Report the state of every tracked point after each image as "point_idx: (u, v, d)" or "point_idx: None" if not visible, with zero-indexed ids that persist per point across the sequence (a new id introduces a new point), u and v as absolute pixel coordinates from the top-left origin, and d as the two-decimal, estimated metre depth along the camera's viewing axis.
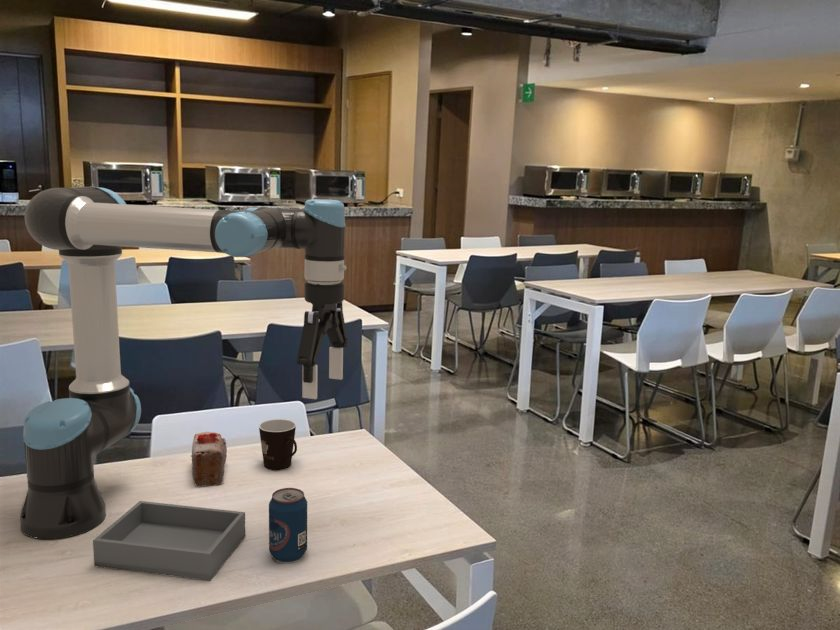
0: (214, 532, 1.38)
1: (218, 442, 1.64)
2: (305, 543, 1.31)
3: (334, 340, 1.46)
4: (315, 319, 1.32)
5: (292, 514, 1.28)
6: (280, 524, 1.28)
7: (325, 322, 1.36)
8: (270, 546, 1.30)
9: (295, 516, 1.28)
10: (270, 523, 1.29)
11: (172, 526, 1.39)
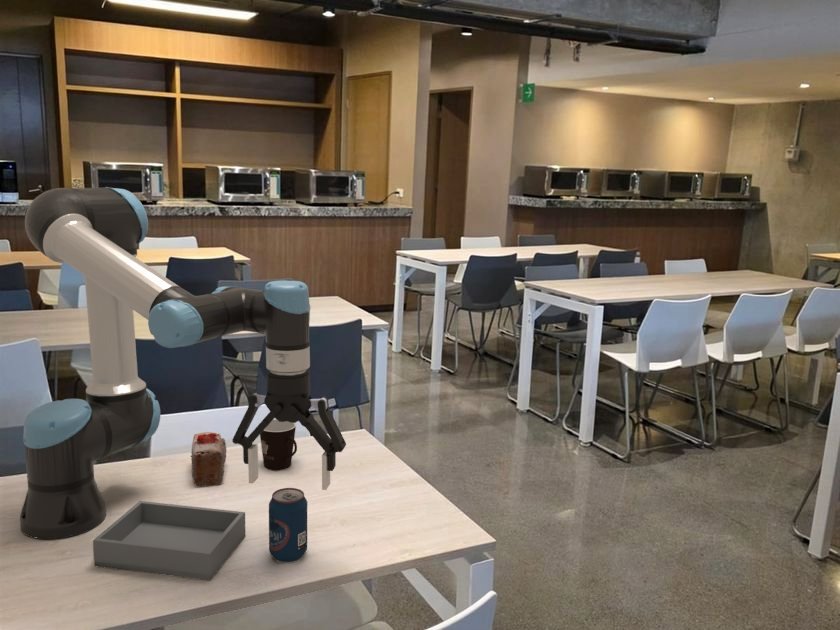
0: (214, 532, 1.38)
1: (218, 442, 1.64)
2: (305, 543, 1.31)
3: None
4: None
5: (292, 514, 1.28)
6: (280, 524, 1.28)
7: None
8: (270, 546, 1.30)
9: (295, 516, 1.28)
10: (270, 523, 1.29)
11: (172, 526, 1.39)
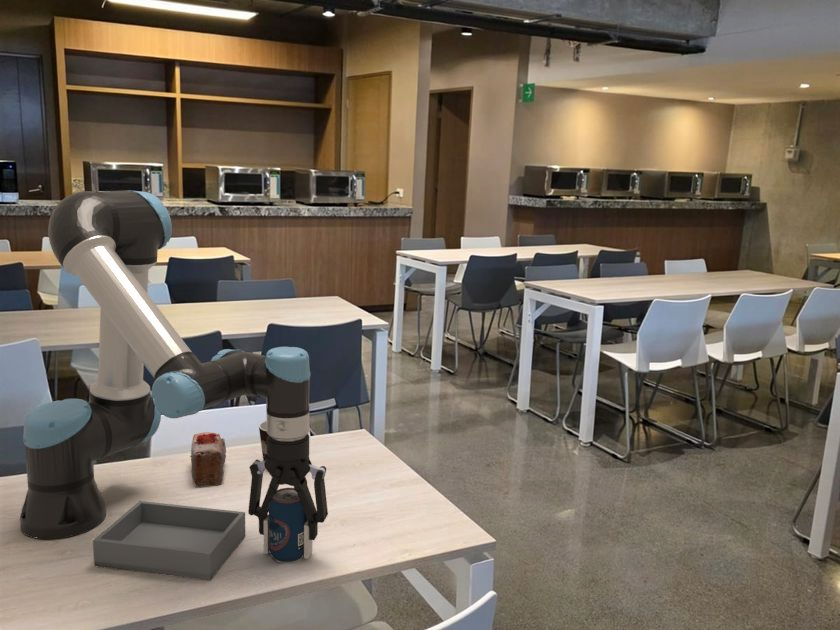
0: (214, 532, 1.38)
1: (217, 442, 1.64)
2: None
3: None
4: None
5: (292, 514, 1.28)
6: (280, 524, 1.28)
7: None
8: (270, 546, 1.30)
9: (295, 516, 1.28)
10: (270, 523, 1.29)
11: (172, 526, 1.39)
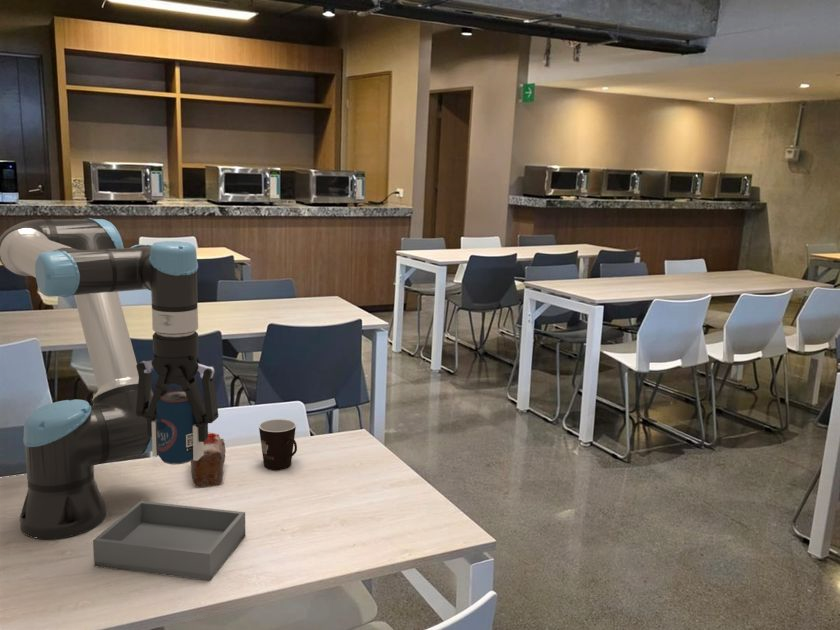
0: (214, 532, 1.38)
1: (217, 442, 1.64)
2: None
3: None
4: None
5: (179, 413, 1.24)
6: (166, 423, 1.25)
7: None
8: (158, 447, 1.27)
9: (183, 416, 1.25)
10: (157, 423, 1.26)
11: (172, 526, 1.39)
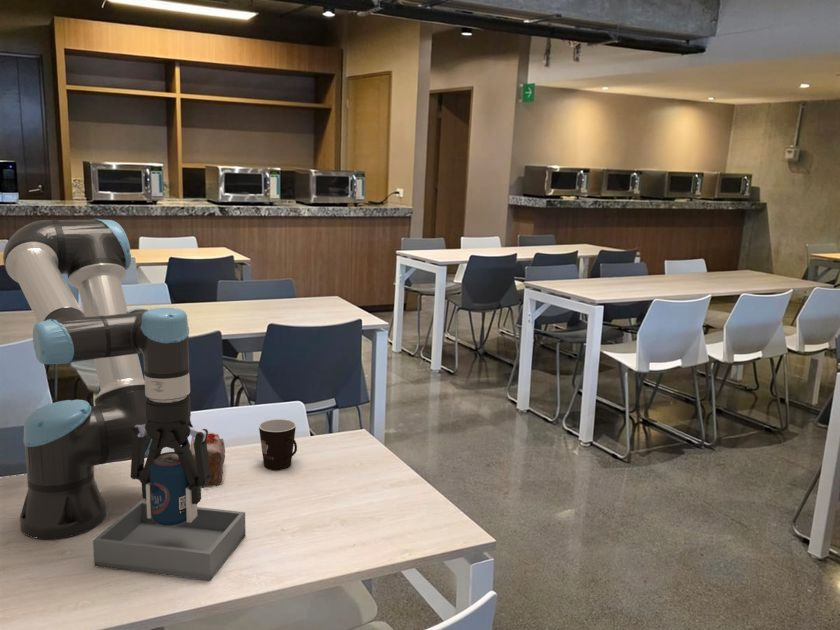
0: (214, 532, 1.38)
1: (217, 442, 1.64)
2: None
3: None
4: None
5: (171, 477, 1.26)
6: (159, 487, 1.26)
7: None
8: (152, 510, 1.29)
9: (175, 479, 1.27)
10: (151, 486, 1.28)
11: None
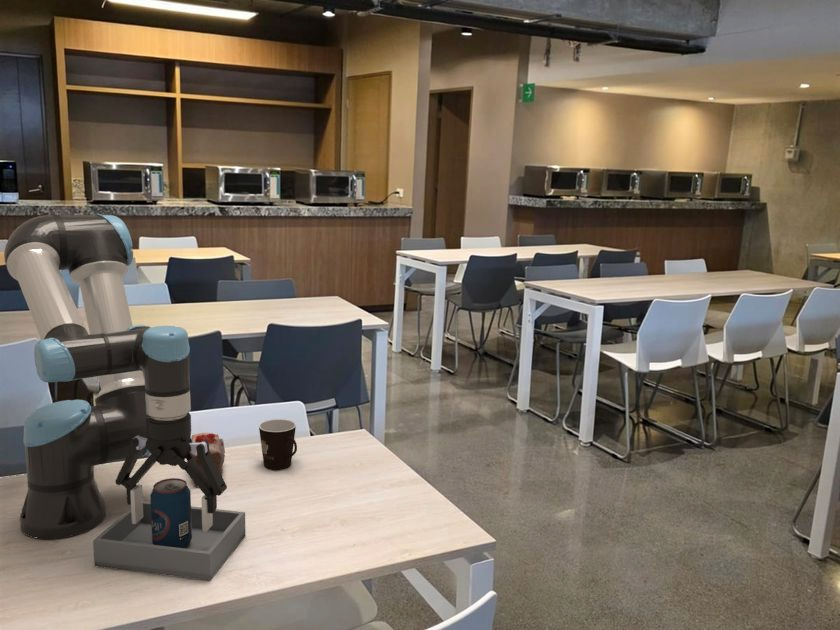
0: (214, 532, 1.38)
1: (216, 443, 1.64)
2: (188, 533, 1.31)
3: None
4: None
5: (171, 504, 1.27)
6: (159, 514, 1.28)
7: None
8: (152, 537, 1.30)
9: (175, 506, 1.28)
10: (151, 513, 1.29)
11: None
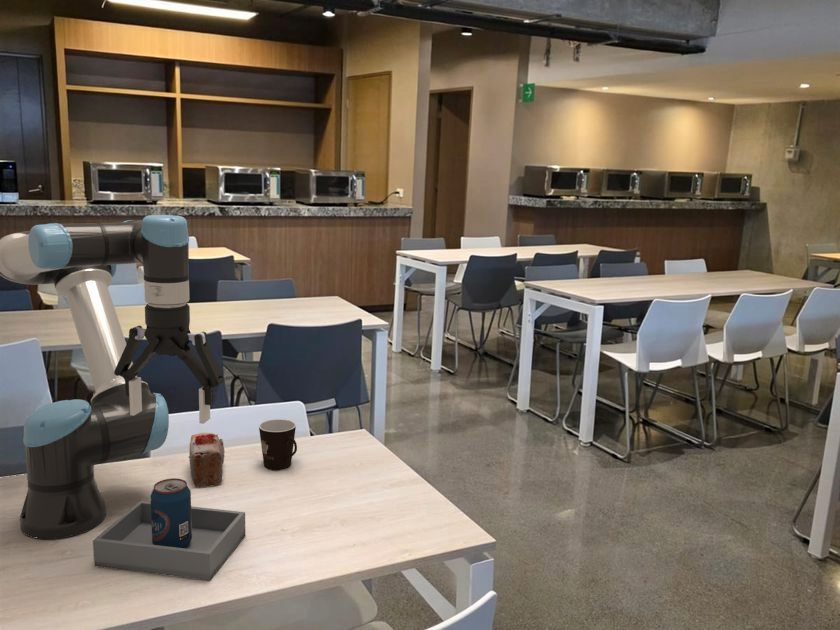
0: (214, 532, 1.38)
1: (216, 443, 1.63)
2: (188, 533, 1.31)
3: None
4: None
5: (172, 505, 1.27)
6: (159, 514, 1.28)
7: None
8: (152, 537, 1.30)
9: (175, 507, 1.28)
10: (151, 513, 1.29)
11: None
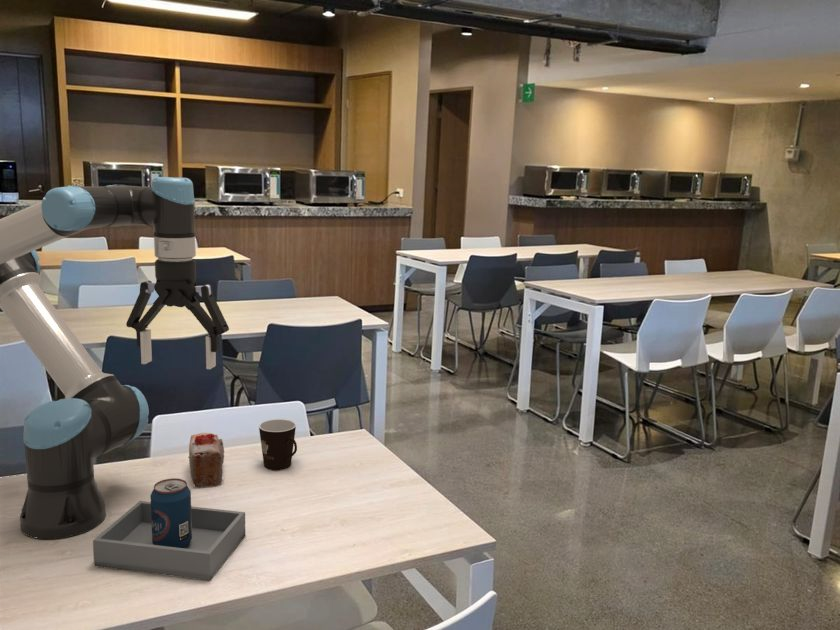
0: (214, 532, 1.38)
1: (216, 443, 1.63)
2: (188, 534, 1.31)
3: None
4: None
5: (172, 505, 1.27)
6: (159, 514, 1.28)
7: None
8: (152, 537, 1.30)
9: (175, 507, 1.28)
10: (151, 513, 1.29)
11: None
